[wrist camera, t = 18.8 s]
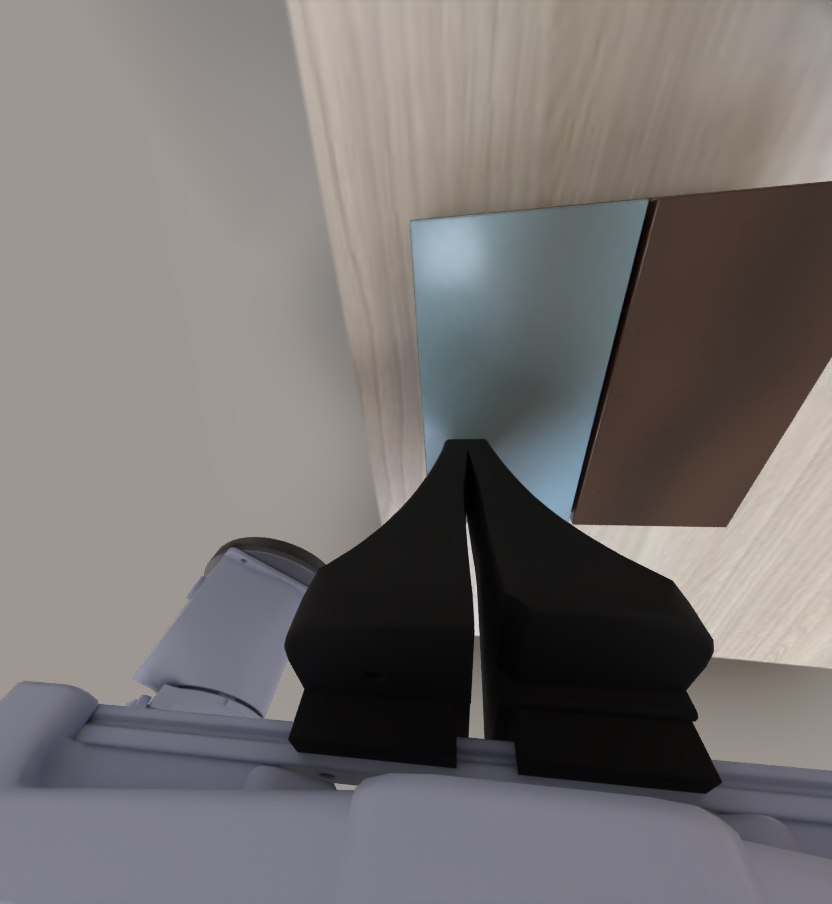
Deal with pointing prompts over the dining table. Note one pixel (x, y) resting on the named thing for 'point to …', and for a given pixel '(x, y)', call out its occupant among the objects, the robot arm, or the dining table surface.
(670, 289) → the box
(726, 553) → the dining table surface
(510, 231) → the door
